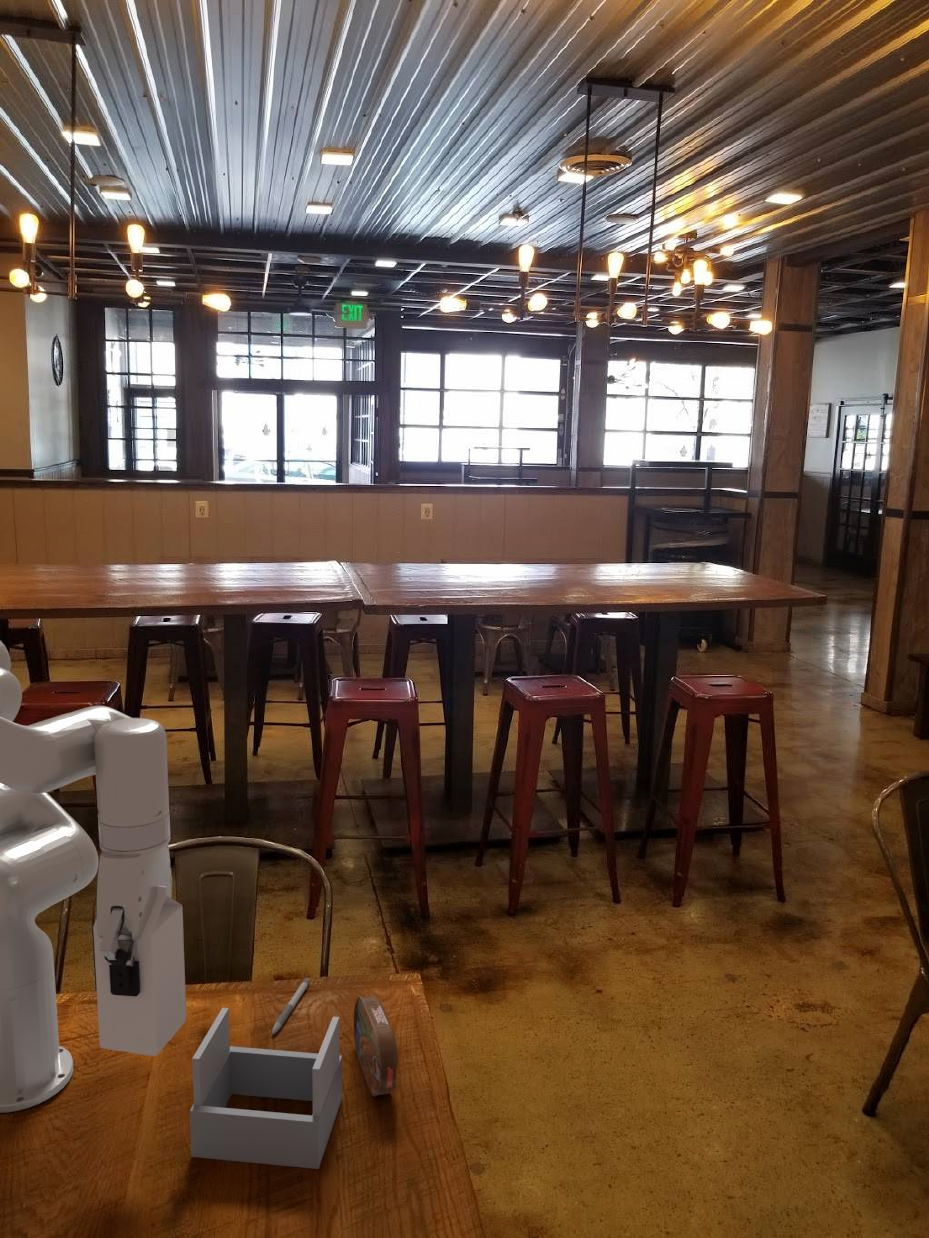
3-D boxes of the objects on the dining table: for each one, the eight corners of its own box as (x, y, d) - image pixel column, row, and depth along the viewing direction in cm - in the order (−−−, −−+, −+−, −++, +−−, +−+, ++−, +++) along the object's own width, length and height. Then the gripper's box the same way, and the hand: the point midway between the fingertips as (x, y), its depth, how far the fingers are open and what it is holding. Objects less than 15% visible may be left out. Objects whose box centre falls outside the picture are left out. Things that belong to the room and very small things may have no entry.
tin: (351, 1039, 133) (351, 984, 132) (373, 1035, 134) (374, 981, 133) (376, 1111, 119) (376, 1050, 118) (400, 1106, 120) (401, 1046, 119)
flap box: (191, 1156, 111) (188, 1063, 109) (226, 1087, 123) (224, 1002, 120) (318, 1168, 110) (318, 1075, 107) (342, 1098, 121) (341, 1012, 119)
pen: (311, 984, 147) (311, 976, 146) (276, 1039, 133) (276, 1030, 133) (305, 983, 147) (305, 975, 147) (269, 1038, 133) (269, 1029, 133)
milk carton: (156, 1058, 108) (150, 901, 104) (99, 1049, 109) (90, 894, 106) (186, 1021, 115) (181, 873, 111) (132, 1013, 116) (125, 866, 113)
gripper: (136, 799, 116) (142, 933, 119) (63, 861, 99) (72, 1016, 102) (196, 802, 115) (200, 937, 119) (133, 865, 98) (140, 1021, 102)
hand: (141, 973), depth 111 cm, fingers closed on milk carton, 7 cm apart
